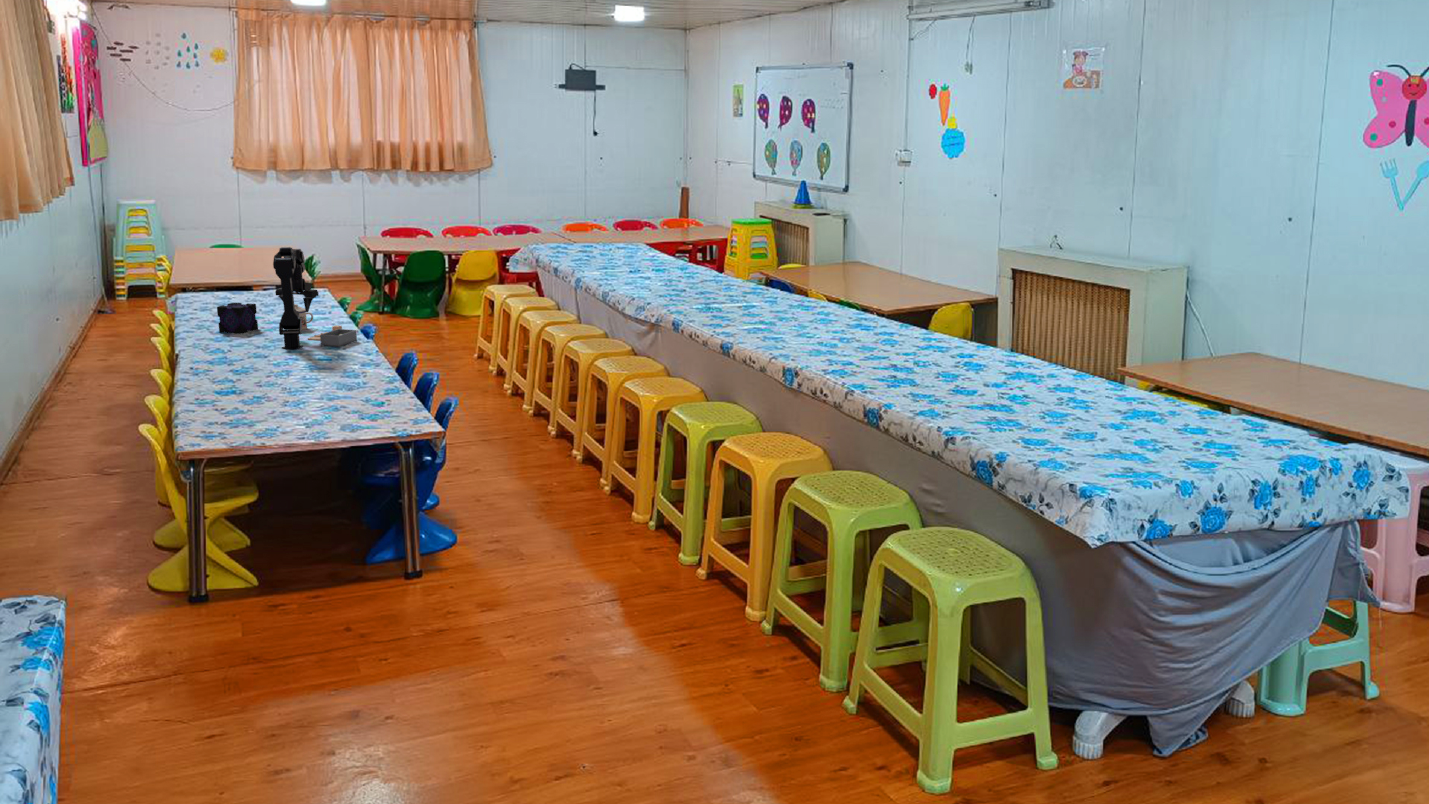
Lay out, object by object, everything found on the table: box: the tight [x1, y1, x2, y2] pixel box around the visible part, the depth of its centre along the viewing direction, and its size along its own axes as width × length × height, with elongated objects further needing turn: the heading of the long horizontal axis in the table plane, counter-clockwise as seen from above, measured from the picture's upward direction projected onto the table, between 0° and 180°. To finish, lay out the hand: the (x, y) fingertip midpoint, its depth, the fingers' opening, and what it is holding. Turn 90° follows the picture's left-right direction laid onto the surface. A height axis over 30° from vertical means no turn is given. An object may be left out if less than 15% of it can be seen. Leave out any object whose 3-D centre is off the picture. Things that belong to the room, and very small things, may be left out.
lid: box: [307, 325, 343, 342], centre depth 522 cm, size 17×10×4 cm, turn 165°
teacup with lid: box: [294, 303, 314, 331], centre depth 538 cm, size 12×9×12 cm
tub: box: [320, 328, 358, 348], centre depth 508 cm, size 14×9×5 cm, turn 165°
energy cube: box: [216, 302, 259, 335], centre depth 532 cm, size 12×12×12 cm
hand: (298, 311), depth 517 cm, fingers open, 9 cm apart
